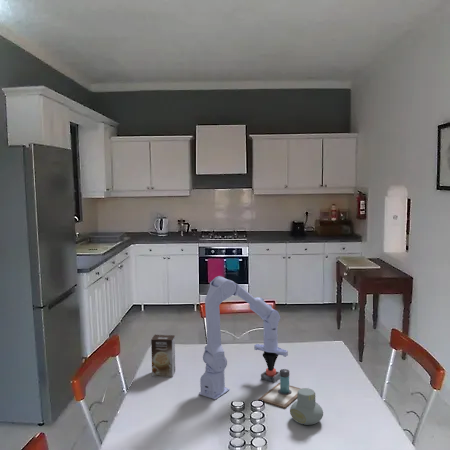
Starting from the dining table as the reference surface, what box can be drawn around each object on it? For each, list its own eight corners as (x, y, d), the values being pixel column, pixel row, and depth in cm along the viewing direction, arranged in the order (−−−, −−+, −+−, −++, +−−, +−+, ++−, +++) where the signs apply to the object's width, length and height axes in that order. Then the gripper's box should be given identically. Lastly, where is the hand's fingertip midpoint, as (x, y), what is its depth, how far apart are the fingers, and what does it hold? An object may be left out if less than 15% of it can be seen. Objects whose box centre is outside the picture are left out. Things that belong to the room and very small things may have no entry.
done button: (272, 380, 177) (272, 372, 177) (264, 377, 179) (264, 370, 179) (277, 376, 180) (277, 369, 180) (269, 374, 183) (269, 366, 182)
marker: (286, 394, 164) (286, 373, 163) (278, 392, 166) (278, 371, 165) (291, 390, 167) (291, 370, 166) (282, 388, 169) (282, 368, 168)
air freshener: (286, 418, 149) (285, 389, 148) (302, 410, 154) (302, 382, 153) (310, 431, 140) (310, 401, 139) (327, 423, 145) (327, 393, 144)
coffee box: (151, 377, 183) (150, 339, 182) (155, 370, 190) (154, 334, 188) (172, 377, 182) (171, 339, 181) (176, 371, 189) (175, 334, 187)
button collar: (273, 382, 176) (273, 377, 176) (261, 379, 179) (260, 374, 179) (281, 377, 181) (281, 372, 180) (268, 373, 184) (268, 369, 184)
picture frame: (285, 408, 155) (285, 406, 155) (258, 400, 161) (258, 398, 161) (304, 391, 168) (304, 389, 168) (279, 384, 174) (279, 382, 174)
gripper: (291, 337, 177) (291, 370, 179) (260, 331, 186) (260, 362, 187) (282, 343, 172) (283, 376, 173) (251, 336, 180) (251, 368, 181)
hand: (270, 369), depth 180 cm, fingers closed, pressing on done button
